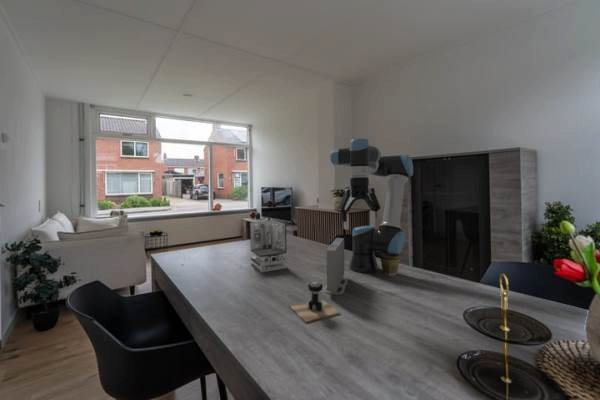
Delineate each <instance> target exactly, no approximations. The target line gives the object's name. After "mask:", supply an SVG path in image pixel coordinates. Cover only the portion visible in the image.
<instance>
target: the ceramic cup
mask: <svg viewBox="0 0 600 400" xmlns="http://www.w3.org/2000/svg"><path fill="white" fill-rule="evenodd" d="M379 258H380V263H381V270H382V273H383V275H385V276H389V277H390V276H392V277H393V276H397V274H398V270H399V266H400V260H401V254H400V253H399V254H389V253H383V252H379Z"/></svg>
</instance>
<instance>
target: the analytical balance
mask: <svg viewBox="0 0 600 400" xmlns="http://www.w3.org/2000/svg"><path fill="white" fill-rule="evenodd" d="M249 232H250V233H249V235H250V237H249V238H250V240H249V241H250V252H252V253H253V254H254V256H250V261H251V263H250V266H252V267H253V268H254V270H255V269H256V271H258V272H259V273H268V272H271V271H278V270H283V269H288V268H287V267H288V265H287V264H286V263H288V259H287V258H286V256H285V254H287V251H288V250H287V247H288V246H287V223H284V222H281V221H278V220H264V221H255V222H252V221H251V222H249Z"/></svg>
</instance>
